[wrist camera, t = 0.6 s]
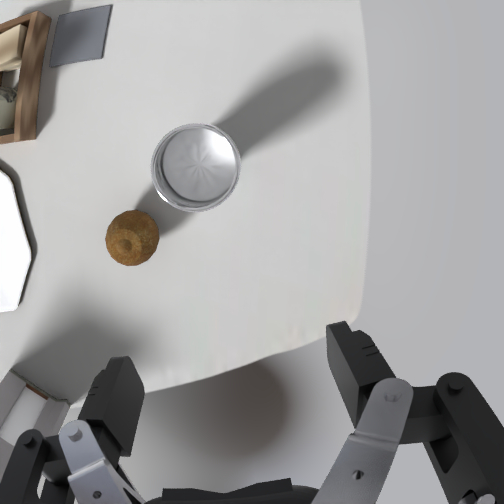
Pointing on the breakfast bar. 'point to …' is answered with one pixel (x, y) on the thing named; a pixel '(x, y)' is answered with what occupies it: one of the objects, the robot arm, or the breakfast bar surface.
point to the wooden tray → (28, 74)
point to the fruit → (132, 238)
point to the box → (7, 108)
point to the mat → (80, 36)
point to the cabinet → (26, 413)
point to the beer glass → (195, 167)
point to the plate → (12, 247)
